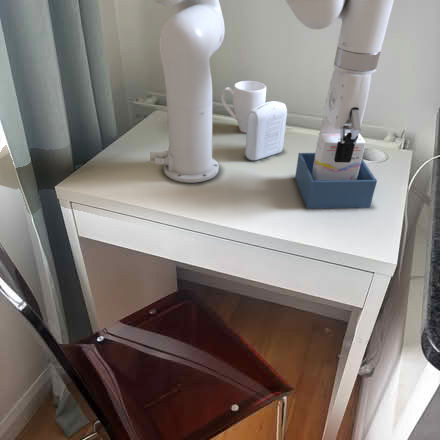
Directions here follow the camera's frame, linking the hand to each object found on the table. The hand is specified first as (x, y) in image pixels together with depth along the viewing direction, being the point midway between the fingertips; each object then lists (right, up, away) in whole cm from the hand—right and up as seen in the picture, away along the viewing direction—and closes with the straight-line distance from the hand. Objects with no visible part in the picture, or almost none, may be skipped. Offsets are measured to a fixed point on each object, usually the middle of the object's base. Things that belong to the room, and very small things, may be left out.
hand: (335, 150), depth 92 cm
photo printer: (-13, +5, +20) cm, 24 cm away
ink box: (0, -7, +6) cm, 9 cm away
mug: (-18, +16, +31) cm, 39 cm away
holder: (0, -7, +6) cm, 9 cm away
